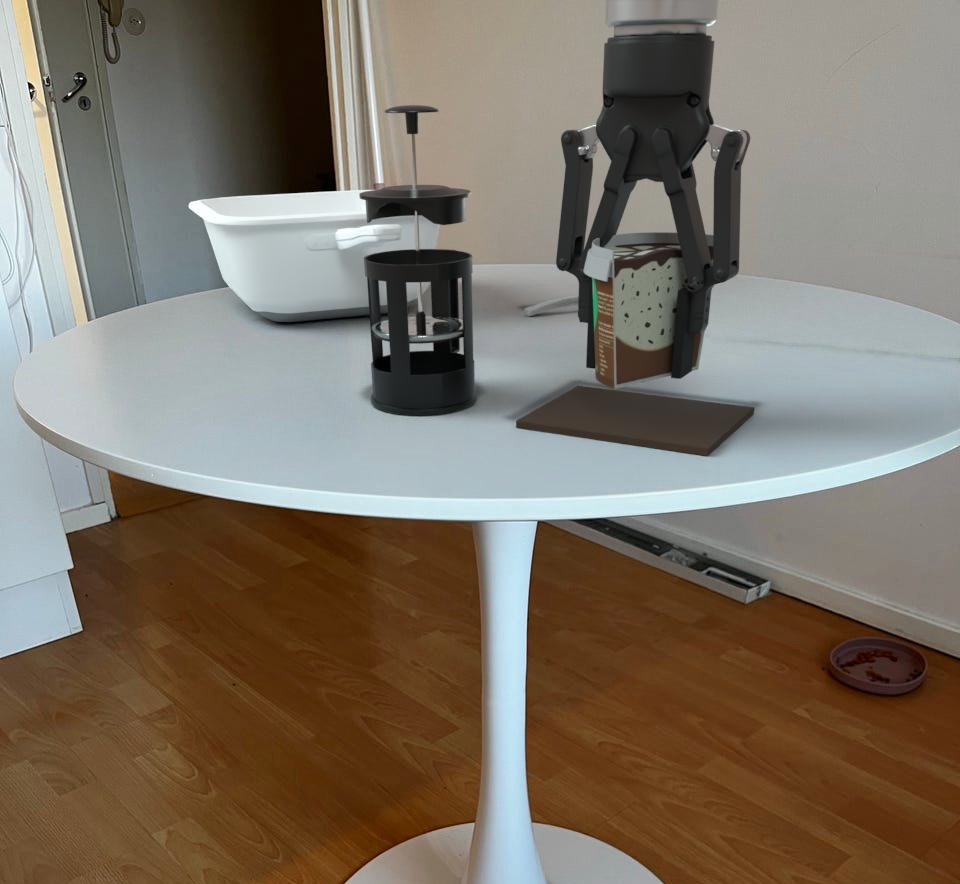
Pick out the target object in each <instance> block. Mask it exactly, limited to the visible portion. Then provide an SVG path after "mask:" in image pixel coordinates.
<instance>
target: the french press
mask: <svg viewBox="0 0 960 884" xmlns="http://www.w3.org/2000/svg"><path fill="white" fill-rule="evenodd" d="M439 112H440V111H439V108H436V107H434V106H429V105H419V104H409V105H407V104H406V105H398V106H392V107H389V108H386V109H385V110H384V113H385V114H404V116H405V127H406V135H409V136H410V154H411V157H410V158H411V174H412V175H411V177H412V178H411V179H412V184H404V185H391V186H384V187H382V188H379V189H371V190H372V191H366V192H362V193H360V194H359V196H360V199H363V200H365V202H366V217H367V223H370V222H371V221H372V220H374V219H379V218H386V217H396V216H414V224H415V247H416V249H409V250H395V251H386V252H380V253H374V254H370V255H368V256H365V257H364V269H365V276H366V277H367V284H368V299H369V314H370V315H369V325H370V326H369V327H370V329H369V330H370V341H371V343H370V344H371V356H372V357H371V358H372V361H371V363H370V368H371V371H370V373H371V383H372V384H371V385H372V394H371V395H370V404H371V406H372V407H373V408H375V409H377V410H379V411H382V412H385V413H388V414H389V413H390V414H394V415H401V416H403V415H404V416H434V415H435V416H436V415H444V414H445V415H446V414H451V413H455V412H458V411H459V412H460V411H462V410H466V409H469V408H470V407H472V406H474V405H475V404H476V403H477V401H478V393H477V390H476V388H475V387H476V384H475V383H476V379H475V360H474V326H473V325H474V323H473V319H474V318H473V275H472V274H473V272H474V271H473V270H474V269H473V255H472V253H470V252H466V251H463V250H457V249H446V248H436V249H420V243H419V219H418V215H422V216H423V217H425V218H426V219H428V220H429V221H431V222H432V223H434V224H439V225H440V226H449V225H457V224H460V223H464V222H466V220H467V203H466V202H467V200H466V198H469V197H471V196H472V191H471V190H470V189H465V188H457V187H450V186H446V185H441V184H418V180H417V179H418V178H417V176H418V175H417V173H418V171H417V153H416V152H417V151H416V135H419V114H422V113H423V114H424V113H439ZM459 279H461V305H462V306H461V307H462V319H460V307H459V300H460V299H459ZM379 281H386V291H387V308H388V313H387V319H385V320H382V314H381V313H380V297H379ZM406 282H417V292H418V299H417V311H416V312H415V316H409V310H408V309H409V306H407V286H406ZM421 282H430V298H431V299H430V300H431V301H430V302H431V315H426V313H425V311H424V310H423V294H422V290H421ZM460 339H462V346H463V350H462V351H463V353H459V352H460V350H461V345H460V344H461V341H460ZM383 341H384V342H388V343H389V354H387V355H384V347H383ZM412 344H418V345H419V344H420V345H421V344H432V350H410V349H411V348H410V347H411V346H410V345H412Z"/></svg>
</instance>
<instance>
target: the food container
mask: <svg viewBox="0 0 960 884" xmlns="http://www.w3.org/2000/svg"><path fill="white" fill-rule="evenodd" d="M705 234H706V239H707V243H708V248H709V253H710V257H711V262H712V266H713V234H708V233H705ZM583 271H584V273H585V274H586V275H588V276H590V277H592V283H593V313H594V342H595V369H594V370H595V379H596V381H597V382H598V383H599V384H601V385H603V386H605V387H607V388H609V389H612V390H617V389H621V388H625V387H629V386H634V385H638V384H641V383H646V382H651V381H654V380H659V379H664V378H667V377H671V372H672V360H673V347H674V334H675V321H676V308H677V296H678V290H680V289H682V288H684V287H686V285H688V284H689V283H688V279H687V274H686V270H685V266H684V261H683V257H682V252H681V248H680V244H679V239H678V235H677V232H669V231H667V232H665V231H662V232H656V231H654V232H651V231H649V232H629V233H618V234H617V233H616V235H613V237H612V238H611V240H610V241H609V242H608V243H607V244H606V245H605V246H604V247H603V248H602V247H600V238H597V239H595V240H593V242H592V248H591V249H589V251H588V254H587V258H586V262H585V266H584V270H583ZM705 332H706V330H705V331H703V332H701V333H700V334H696V333H695V342H694V353H693V364H692V371H691V372H693V371H697V370H699V367H700V361H701V355H702V349H703V344H704V337H705Z"/></svg>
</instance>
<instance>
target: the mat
mask: <svg viewBox="0 0 960 884" xmlns="http://www.w3.org/2000/svg"><path fill="white" fill-rule="evenodd" d="M754 415H755V406H746V405H739V404H731V403H723V402H715V401H714V402H713V401H706V400H698V399H691V398H682V397H674V396H665V395H659V394H649V393H642V392H635V391H634V392H633V391H626V390H620V389H619V390H617V389H612V388H603V387H594V386H586V385H576V386H574V387H573V388H571V389H569V390H568V391H566V392H564V393H562V394H560V395H559V396H557V397H555V398H553V399H551V400H549V401H548V402H546V403H545V404H543V405H540V406H539V407H537V408H536V409H533V410H531V412H529V413H527V414H525V415H523V416H522V417H520V418H518V419H517V420H516V421H515V428H516V429H523V430H530V431H538V432H542V433H543V432H544V433H550V434H556V435H565V436H570V437H577V438H585V439H589V440H598V441H604V442H610V443H611V442H612V443H618V444H623V445H631V446H638V447H644V448H645V447H646V448H650V449H659V450H664V451H671V452H677V453H684V454H685V453H686V454H692V455H697V456H704V457H708V456H710V454H712V453H713V452H714V451H715V450H716V449H717V448H718V447H719V446H720V445H722V444H723V443H724V442H725V441H726V440H727V439H728V438H729V437H730V436H731V435H733V434H734V433H735V432H736V431H737V430H738V429H739V428H740V427H741V426H742V425H743V424H745V423H746V422H747V421H748V420H749V419H750V418H752V416H754Z"/></svg>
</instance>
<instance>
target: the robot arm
mask: <svg viewBox="0 0 960 884" xmlns="http://www.w3.org/2000/svg"><path fill="white" fill-rule="evenodd" d="M605 1H606V2H605V21H604V22H605V24H606V26H607V27H608V28H610V29H613V36H611V37H608V38H607V42H604V43H603V66H602V67H603V70H602V107H601V110H600V114H599V115H598V117H597V119H596V122H595V124H593V125H590V126H586V127H584V128H575V129H568V130H564V132H563V133H561V137H560V143H561V149H562V153H563V159H564V164H565V169H564V180H563V188H562V198H561V199H562V200H561V207H560V208H561V210H560V218H559V229H558V238H557V247H556V259H555V265H556V268H557V269H558V270H559V271H561V272H567V273H568V274H571V275H573V276H574V277H575V278H576V280H577V282H578V296H579V297H578V302H577V303H578V304H577V307H578V308H577V317H578V319H579V323H582V324H583V323H584V324H587V335H586V362H585V363H586V364H585V368H586V369H593V370H595V342H594V313H593V283H592V277H590V276H588V275H586V274H585V273H584V271H583V270H584V266H585V262H586V258H587V254H588V251H589V249H591V248H592V242H593V240H595V239H597V238H600V247H602V248H603V247H604V246H605V245H606V244H607V243H608V242H609V241H610V240H611V238H612V237H613V235H617V233H618V230H619V227H620V225H621V221H622V219H623V217H624V216H623V215H624V213H625V210H626V207H627V205H628V202H629V199H630V196H631V193H632V192H633V191H634V190H635V188H636V185H637V182H638V181H642V180H643V181H644V180H649V181H652V182H655V183H662V184H663V188H664V192H665V194H666V196H667V197H668V199H669V203H670V208H671V213H672V217H673V221H674V226H675V230H676V233H677V235H678V239H679V244H680V248H681V252H682V257H683V261H684V266H685V270H686V274H687V279H688V283H689V284H688V285H686V287H684V288H682V289H680V290H678V296H677V308H676V321H675V334H674V347H673V360H672V372H671V376H670V379H677V380H682V379H683V378H684V377H685V376H686V377H687V375H689V374H690V373H691V372H693V371H692V364H693V353H694V342H695V333H696V334H700V333H701V332H703V331H705V332H706V329H707V327H708V325H709V320H710V309H711V299H712V290H713V288H714V286H715V285H718V284H722V283H725V282H727V281H729V280H731V279H733V278H735V277H736V276H738V274H739V271H740V247H741V246H740V244H741V242H740V241H741V237H740V236H741V197H742V196H741V194H742V193H741V191H742V190H741V189H742V166H743V164H744V163H743V162H744V160H745V157H746V154H747V151H748V149H749V145H750V142H751V135H750V133H749V131H747V130H746V129H739V130H733V129H730V128H727V127H724V126H721V125H718V124H715V121H714V118H713V115H712V112H711V109H710V96H711V86H712V75H713V63H714V51H715V40H713V35H707V33H708V27H710V26H713V25H714V24H715V23H716V22H717V16H718V5H719V0H605ZM599 143H601V146H602V148H603V149H604V151H605V153H606V154H607V156H608V159H609V160H610V163H609V167H608V170H607V172H606V176H605V179H604V182H603V192H602V195H601V198H600V201H599V204H598V208H597V210H596V213H595V215H594V219H593V222H592V225H591V228H590V231H589V233H588V237H587V240H586V234H587V226H588V225H587V224H588V216H589V208H590V199H591V192H592V191H591V190H592V181H593V173H594V157H595V156H596V155H597V152H598V145H599ZM707 143H709V146H710V157H711V159H712V160H713V161H714V162H715V166H714V170H713V171H714V172H713V230H712V232H713V234H712V235H713V266H712V262H711V257H710V253H709V248H708V243H707V239H706V234H707V233H706V231H705V225H704V221H703V215H702V212H701V211H702V210H701V208H700V202H699V198H698V197H699V196H698V193H697V177H696V172H695V169H694V164H693V162H694V161H695V159H696V158H697V157H698V155H699V154H700V153H701V151H702V149H703V148H704V147H705V146H706V144H707ZM585 242H586V243H585Z"/></svg>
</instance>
